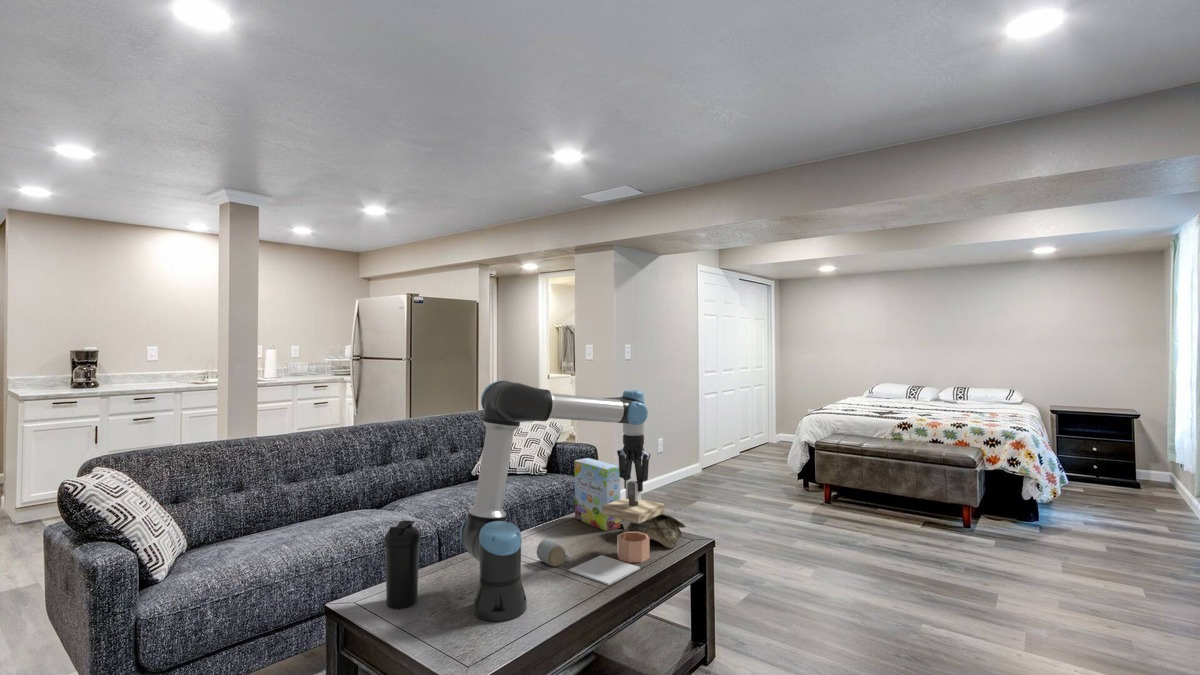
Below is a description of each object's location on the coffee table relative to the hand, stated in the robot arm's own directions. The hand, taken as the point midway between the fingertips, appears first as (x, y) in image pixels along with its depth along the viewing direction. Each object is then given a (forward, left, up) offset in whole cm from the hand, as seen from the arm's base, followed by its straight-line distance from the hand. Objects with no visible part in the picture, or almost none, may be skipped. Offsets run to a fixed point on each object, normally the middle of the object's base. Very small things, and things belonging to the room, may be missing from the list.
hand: (633, 499), depth 204 cm
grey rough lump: (+19, +6, -21) cm, 29 cm away
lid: (0, 0, -5) cm, 5 cm away
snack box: (+20, +34, -21) cm, 44 cm away
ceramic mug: (-22, +18, -21) cm, 35 cm away
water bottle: (-73, +30, -21) cm, 82 cm away
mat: (-16, 0, -20) cm, 26 cm away
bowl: (0, 0, -20) cm, 20 cm away
